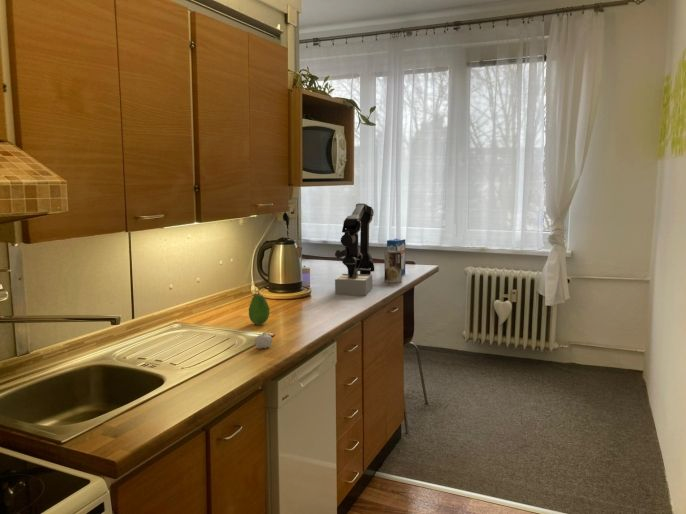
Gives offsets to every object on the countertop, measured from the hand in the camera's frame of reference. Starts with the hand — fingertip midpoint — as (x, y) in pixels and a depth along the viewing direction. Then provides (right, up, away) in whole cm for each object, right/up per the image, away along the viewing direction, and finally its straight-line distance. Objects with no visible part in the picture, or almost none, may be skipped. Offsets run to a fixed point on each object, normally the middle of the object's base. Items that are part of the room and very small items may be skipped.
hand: (352, 275), depth 273 cm
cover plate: (0, -2, 0) cm, 2 cm away
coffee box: (+22, -4, +26) cm, 34 cm away
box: (+1, -8, +1) cm, 8 cm away
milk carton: (+25, -1, +45) cm, 52 cm away
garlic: (-31, -21, -87) cm, 95 cm away
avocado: (-37, -17, -57) cm, 70 cm away
